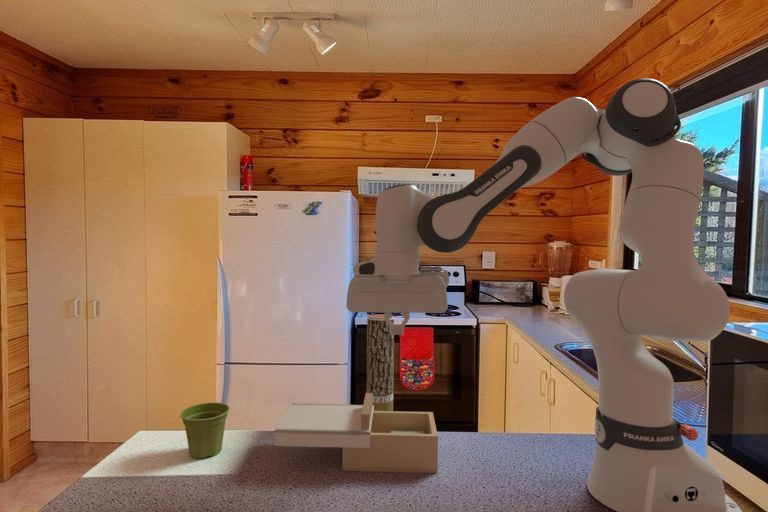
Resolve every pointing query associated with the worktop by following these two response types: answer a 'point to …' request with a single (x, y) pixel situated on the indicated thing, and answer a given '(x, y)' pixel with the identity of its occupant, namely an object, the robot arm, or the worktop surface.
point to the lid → (326, 425)
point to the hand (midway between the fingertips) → (396, 334)
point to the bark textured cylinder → (380, 362)
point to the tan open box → (397, 444)
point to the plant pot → (205, 428)
